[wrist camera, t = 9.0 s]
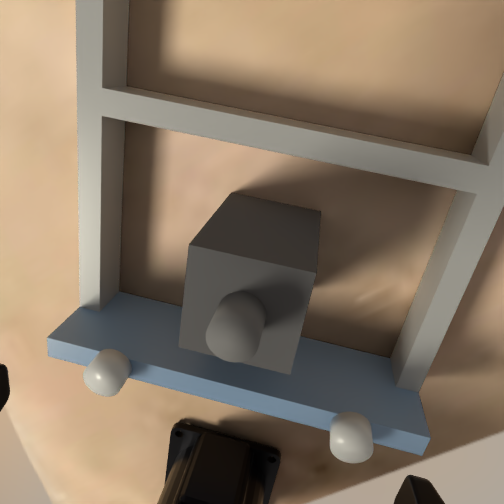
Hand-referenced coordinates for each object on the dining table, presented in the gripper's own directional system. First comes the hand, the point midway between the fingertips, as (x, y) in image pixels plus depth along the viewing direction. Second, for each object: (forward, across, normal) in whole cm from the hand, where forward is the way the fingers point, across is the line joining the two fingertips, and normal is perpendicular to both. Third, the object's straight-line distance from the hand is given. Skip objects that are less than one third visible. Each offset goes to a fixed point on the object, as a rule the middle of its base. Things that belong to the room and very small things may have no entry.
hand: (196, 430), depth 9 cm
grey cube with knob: (+11, 0, 0) cm, 11 cm away
